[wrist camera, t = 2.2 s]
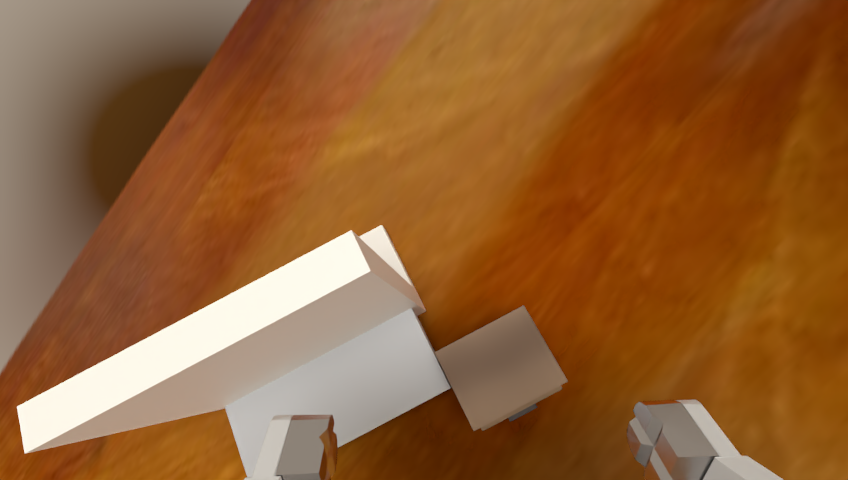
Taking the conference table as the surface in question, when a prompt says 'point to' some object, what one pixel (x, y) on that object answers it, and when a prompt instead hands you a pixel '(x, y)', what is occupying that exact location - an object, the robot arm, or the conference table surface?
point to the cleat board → (266, 357)
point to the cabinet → (501, 370)
